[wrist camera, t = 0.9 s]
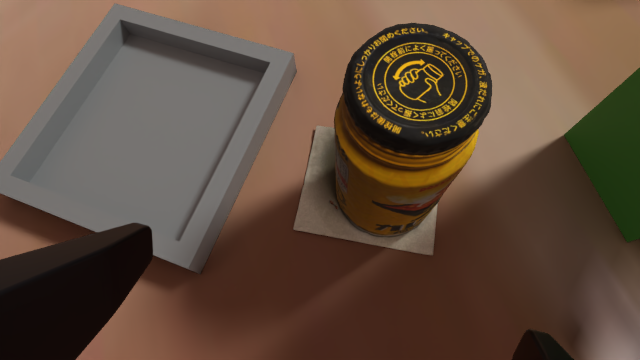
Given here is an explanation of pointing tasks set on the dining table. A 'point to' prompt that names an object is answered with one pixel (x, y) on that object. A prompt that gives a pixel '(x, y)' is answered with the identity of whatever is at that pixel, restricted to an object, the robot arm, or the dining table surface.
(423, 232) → the condiment
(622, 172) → the hardback book
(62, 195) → the slate tray
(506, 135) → the dining table surface
